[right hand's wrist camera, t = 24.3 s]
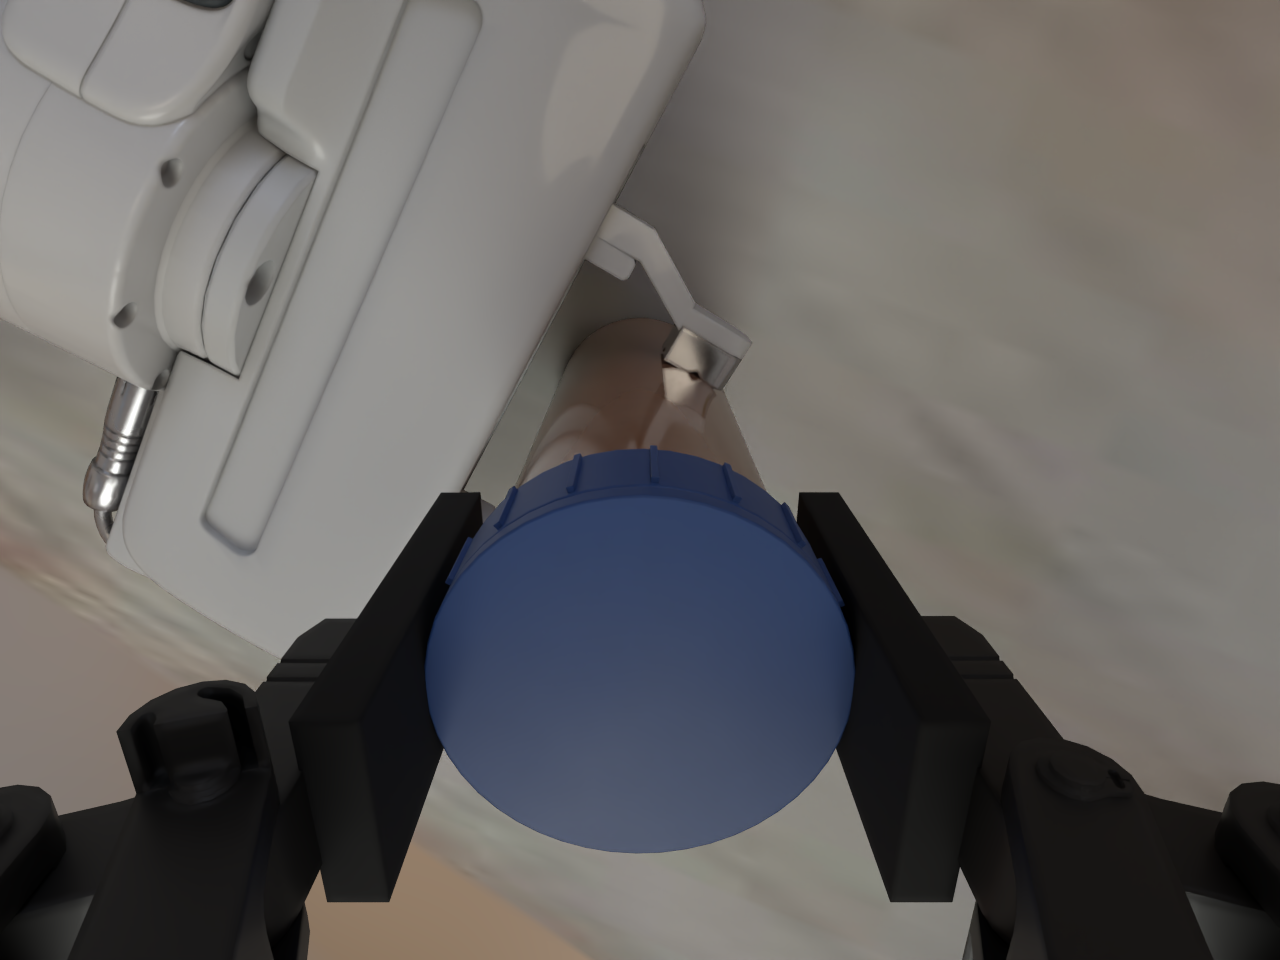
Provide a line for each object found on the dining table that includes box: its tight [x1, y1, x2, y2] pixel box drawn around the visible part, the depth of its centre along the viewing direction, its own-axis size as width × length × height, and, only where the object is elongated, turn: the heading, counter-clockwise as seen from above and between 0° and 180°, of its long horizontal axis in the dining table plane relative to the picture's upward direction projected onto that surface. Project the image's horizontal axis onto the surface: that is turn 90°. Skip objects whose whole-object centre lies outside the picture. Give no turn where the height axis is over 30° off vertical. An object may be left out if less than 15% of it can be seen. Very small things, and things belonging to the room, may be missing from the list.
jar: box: [515, 318, 766, 491], centre depth 19 cm, size 6×6×15 cm
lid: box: [424, 445, 855, 853], centre depth 11 cm, size 6×6×2 cm
